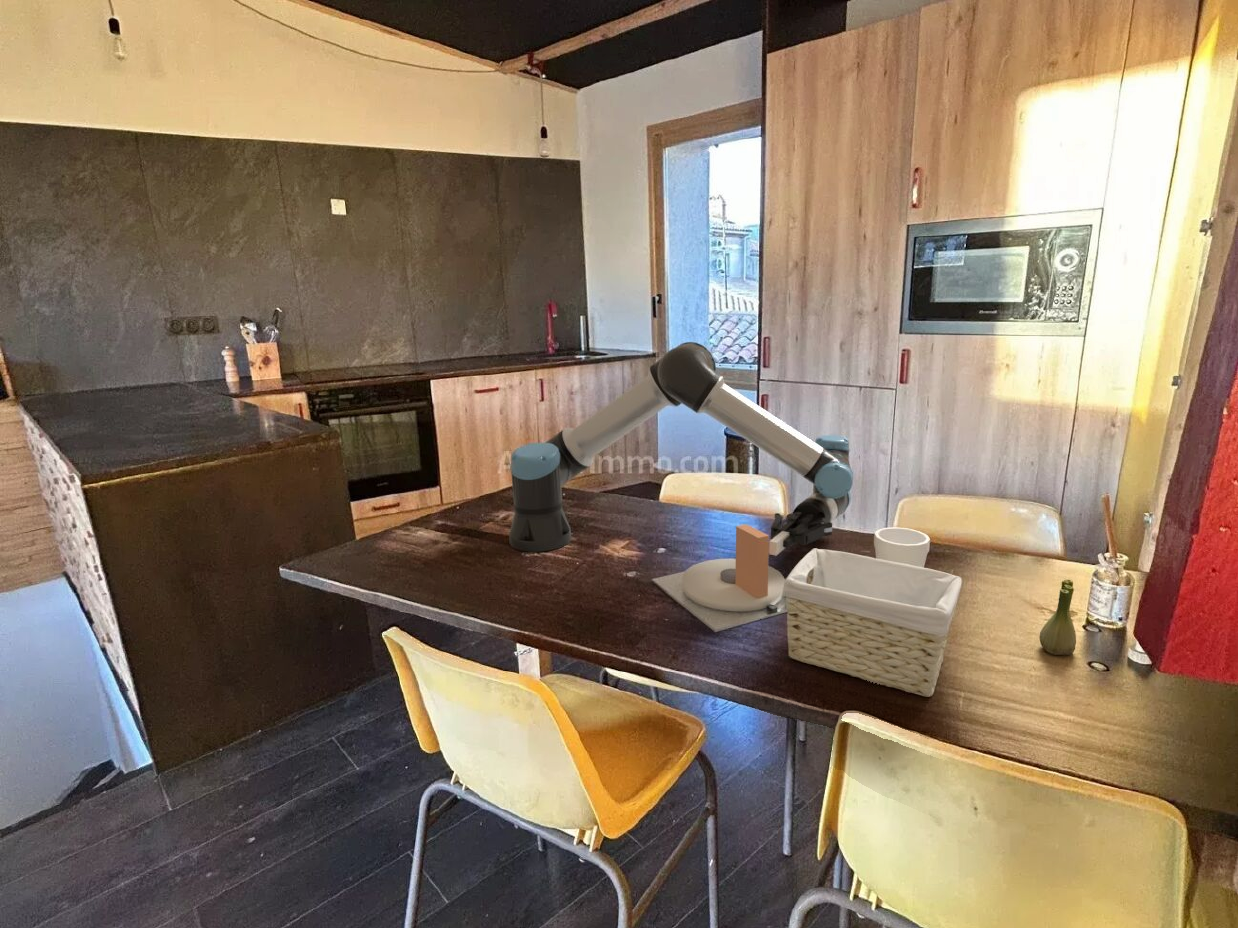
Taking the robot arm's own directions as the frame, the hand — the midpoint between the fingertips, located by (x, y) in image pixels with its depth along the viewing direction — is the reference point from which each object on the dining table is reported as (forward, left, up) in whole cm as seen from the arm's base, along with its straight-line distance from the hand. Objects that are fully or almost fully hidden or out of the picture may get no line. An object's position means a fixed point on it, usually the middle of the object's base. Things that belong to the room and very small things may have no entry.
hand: (772, 548), depth 128 cm
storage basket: (+27, -2, -10) cm, 29 cm away
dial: (-4, -7, -9) cm, 12 cm away
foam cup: (+14, +18, -9) cm, 25 cm away
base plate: (-4, -7, -9) cm, 12 cm away
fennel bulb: (+39, +26, -9) cm, 48 cm away
